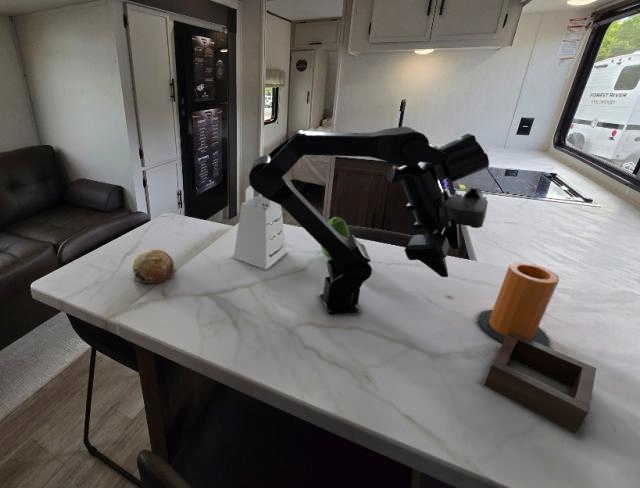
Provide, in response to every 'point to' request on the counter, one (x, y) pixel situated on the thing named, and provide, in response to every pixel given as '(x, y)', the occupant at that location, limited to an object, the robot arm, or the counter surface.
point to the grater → (259, 232)
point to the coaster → (486, 326)
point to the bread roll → (153, 266)
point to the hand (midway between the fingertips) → (450, 262)
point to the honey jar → (523, 299)
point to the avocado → (339, 227)
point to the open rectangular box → (537, 394)
